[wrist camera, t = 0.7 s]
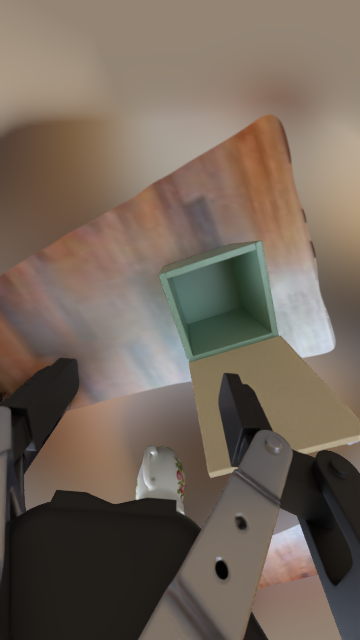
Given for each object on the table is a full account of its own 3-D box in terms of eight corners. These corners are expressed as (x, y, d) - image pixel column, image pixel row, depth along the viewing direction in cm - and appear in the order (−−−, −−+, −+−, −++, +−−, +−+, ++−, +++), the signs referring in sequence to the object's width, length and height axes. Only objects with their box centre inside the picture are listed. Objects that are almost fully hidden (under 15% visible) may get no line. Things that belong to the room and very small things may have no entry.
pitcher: (171, 421, 49) (170, 483, 36) (191, 472, 55) (197, 541, 42) (127, 432, 50) (111, 497, 37) (152, 482, 56) (145, 553, 43)
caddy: (163, 266, 38) (158, 274, 25) (230, 243, 37) (262, 240, 24) (184, 327, 42) (189, 362, 29) (245, 308, 41) (279, 336, 28)
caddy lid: (208, 473, 16) (210, 478, 17) (371, 432, 15) (370, 438, 16) (188, 362, 28) (190, 366, 28) (280, 335, 27) (280, 340, 28)
